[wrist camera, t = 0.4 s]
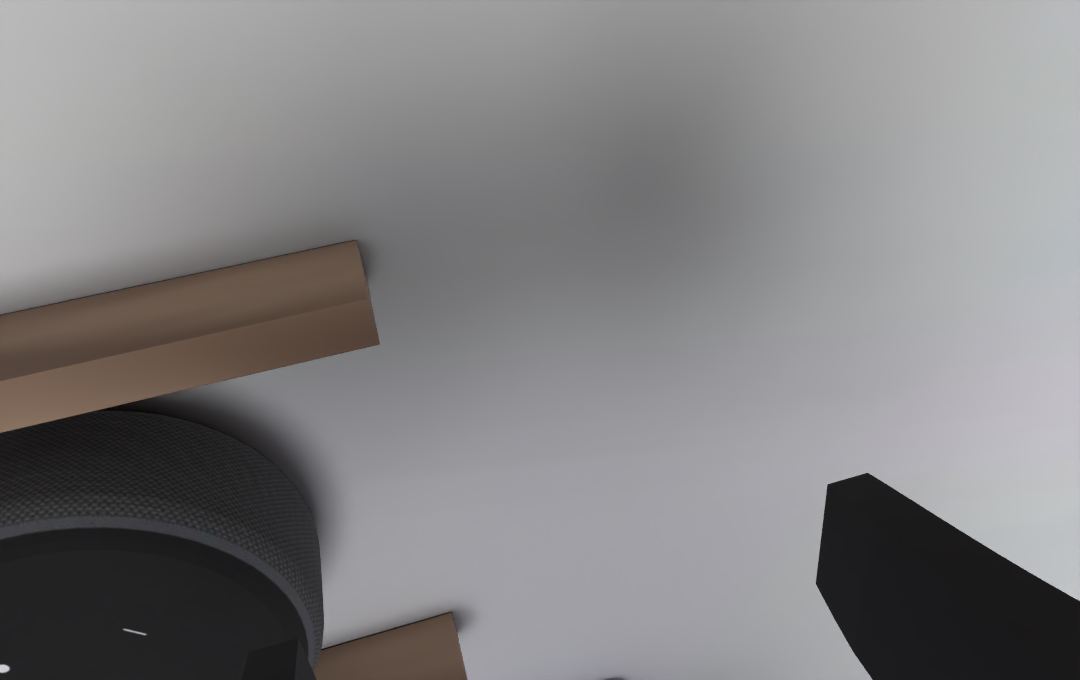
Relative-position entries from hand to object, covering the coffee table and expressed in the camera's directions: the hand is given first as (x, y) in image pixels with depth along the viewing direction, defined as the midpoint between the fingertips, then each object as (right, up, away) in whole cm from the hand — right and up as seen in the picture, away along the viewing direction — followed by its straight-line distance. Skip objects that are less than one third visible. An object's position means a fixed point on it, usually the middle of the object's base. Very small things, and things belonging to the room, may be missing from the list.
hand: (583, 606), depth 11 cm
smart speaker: (-10, -1, +9) cm, 14 cm away
